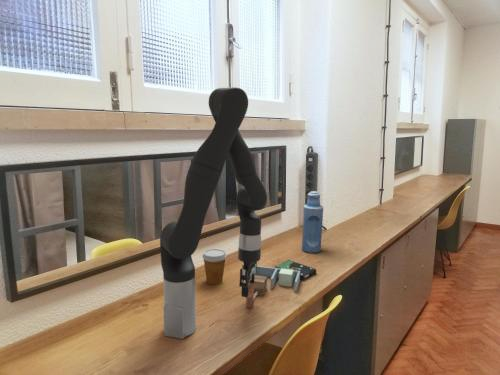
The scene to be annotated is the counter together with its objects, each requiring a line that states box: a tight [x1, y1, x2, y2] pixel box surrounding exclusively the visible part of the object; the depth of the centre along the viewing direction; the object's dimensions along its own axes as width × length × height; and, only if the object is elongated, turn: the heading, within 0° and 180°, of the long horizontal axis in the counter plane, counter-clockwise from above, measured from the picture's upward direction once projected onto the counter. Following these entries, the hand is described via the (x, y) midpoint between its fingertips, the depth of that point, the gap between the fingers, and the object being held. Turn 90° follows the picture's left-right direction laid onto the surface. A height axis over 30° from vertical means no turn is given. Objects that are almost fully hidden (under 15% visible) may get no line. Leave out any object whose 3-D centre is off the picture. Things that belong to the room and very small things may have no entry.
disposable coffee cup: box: [202, 248, 228, 285], centre depth 141 cm, size 10×10×12 cm
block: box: [278, 268, 294, 287], centre depth 141 cm, size 5×5×5 cm
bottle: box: [301, 190, 324, 254], centre depth 177 cm, size 10×10×30 cm
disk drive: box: [274, 259, 317, 282], centre depth 152 cm, size 10×3×15 cm
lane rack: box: [255, 265, 301, 293], centre depth 141 cm, size 11×19×4 cm, turn 75°
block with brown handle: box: [245, 275, 268, 309], centre depth 129 cm, size 16×5×8 cm, turn 164°
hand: (247, 291), depth 122 cm, fingers open, 8 cm apart
